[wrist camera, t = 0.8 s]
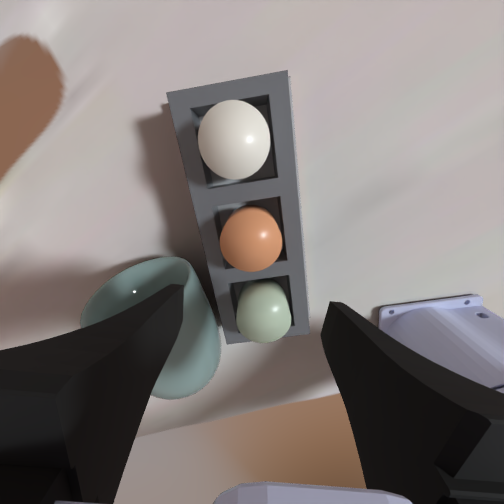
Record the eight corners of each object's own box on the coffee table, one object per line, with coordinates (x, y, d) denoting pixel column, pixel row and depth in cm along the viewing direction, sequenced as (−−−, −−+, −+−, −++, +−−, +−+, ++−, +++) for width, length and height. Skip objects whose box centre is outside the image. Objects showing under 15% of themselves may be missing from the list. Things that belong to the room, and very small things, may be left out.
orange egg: (274, 200, 17) (278, 207, 14) (280, 251, 18) (285, 267, 16) (220, 209, 17) (213, 217, 15) (230, 259, 19) (226, 275, 16)
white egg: (262, 106, 15) (265, 93, 12) (270, 172, 16) (274, 173, 14) (201, 117, 15) (190, 107, 12) (214, 181, 17) (206, 184, 14)
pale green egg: (282, 274, 19) (288, 293, 16) (287, 315, 21) (293, 339, 18) (234, 281, 19) (231, 301, 17) (242, 321, 21) (241, 345, 18)
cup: (135, 423, 19) (50, 347, 13) (162, 340, 25) (112, 267, 20) (230, 407, 18) (180, 321, 13) (232, 326, 25) (200, 247, 19)
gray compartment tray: (288, 80, 17) (297, 59, 13) (308, 313, 23) (317, 336, 20) (172, 101, 17) (154, 86, 14) (225, 324, 24) (220, 348, 21)
